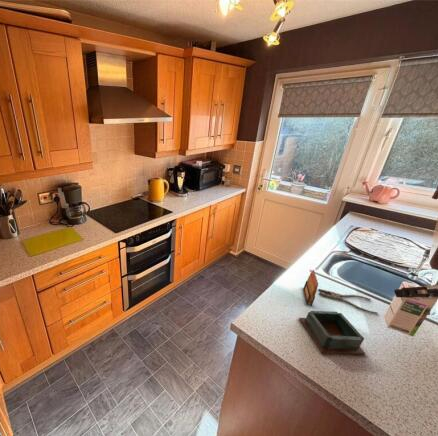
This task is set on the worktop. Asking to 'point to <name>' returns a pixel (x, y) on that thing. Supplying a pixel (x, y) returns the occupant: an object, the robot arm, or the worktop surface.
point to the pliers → (338, 297)
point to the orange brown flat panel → (310, 288)
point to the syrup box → (408, 312)
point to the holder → (332, 333)
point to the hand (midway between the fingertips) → (410, 293)
